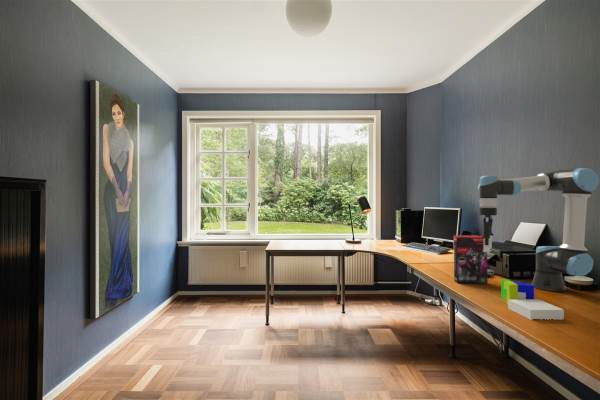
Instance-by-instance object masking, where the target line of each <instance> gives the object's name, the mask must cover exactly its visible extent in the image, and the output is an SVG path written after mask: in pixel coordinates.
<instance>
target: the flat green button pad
mask: <svg viewBox="0 0 600 400" xmlns="http://www.w3.org/2000/svg"><path fill="white" fill-rule="evenodd" d="M492 270H493V269H488V268H487V273H488V274H487V275H488V277H492V276H493V275H494V274H495V273H494V271H495V270H493V271H492Z"/></svg>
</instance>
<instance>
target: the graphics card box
mask: <svg viewBox="0 0 600 400" xmlns="http://www.w3.org/2000/svg"><path fill="white" fill-rule="evenodd" d="M482 236H483V235H453V281H454V282H456V283H457V284H458V283H459V284H479V285H480V284H488V281H489V280H488V279H489V276H488V275H487V274H488V273H487V269H488V252H483V248H484V238H482Z"/></svg>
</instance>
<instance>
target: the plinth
mask: <svg viewBox="0 0 600 400" xmlns="http://www.w3.org/2000/svg"><path fill="white" fill-rule="evenodd" d="M507 309H509V310H510V311H513V312H514V313H516V314H517V315H520V316H522V317H524V318H526V319H528V320H530V321H532V320H533V319H541V320H540V321H542V319H545V320H546V319H547V320H549V319H550V320H551V319H553V320H559V321H560V320H564V319H565V318H564V316H565V310H564V309H563V308H560V307H559V306H555V305H553V304H552V303H548V302H546V301H544V300H541V299H540V298H539V299H538V298H536V299H535V298H534V299H520V300H508V305H507ZM545 320H544V321H545ZM547 320H546V321H547Z"/></svg>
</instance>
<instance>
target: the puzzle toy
mask: <svg viewBox="0 0 600 400" xmlns="http://www.w3.org/2000/svg"><path fill="white" fill-rule="evenodd" d="M500 281H501V282H500V285H501V286H500V287H501V290H500V292H501V293H500V297H501V301H502V302H504V303H505V304H506V305H507V306H508V300H520V299H535V287H534V285H532V283H530V282H528V281H526V280H521V279H501V280H500Z"/></svg>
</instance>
